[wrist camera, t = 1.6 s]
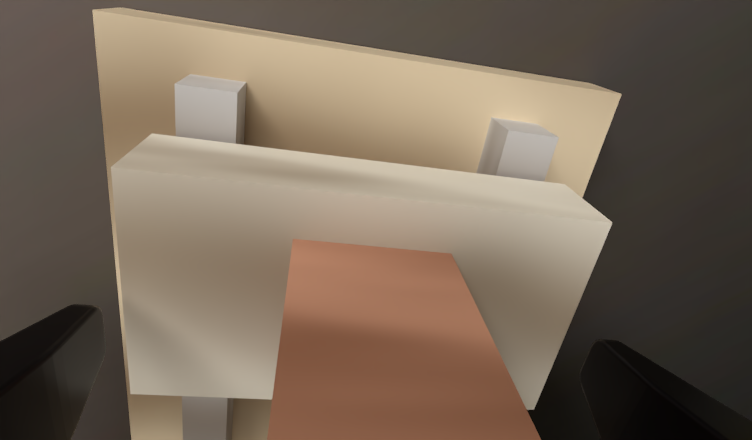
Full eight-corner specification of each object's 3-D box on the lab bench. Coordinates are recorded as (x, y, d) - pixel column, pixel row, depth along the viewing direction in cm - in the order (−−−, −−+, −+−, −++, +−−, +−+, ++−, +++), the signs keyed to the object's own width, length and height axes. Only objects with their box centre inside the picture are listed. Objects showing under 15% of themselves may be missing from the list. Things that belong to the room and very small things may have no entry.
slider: (504, 351, 13) (675, 693, 7) (160, 331, 11) (-38, 742, 5) (564, 184, 11) (899, 453, 4) (152, 133, 9) (-203, 425, 3)
